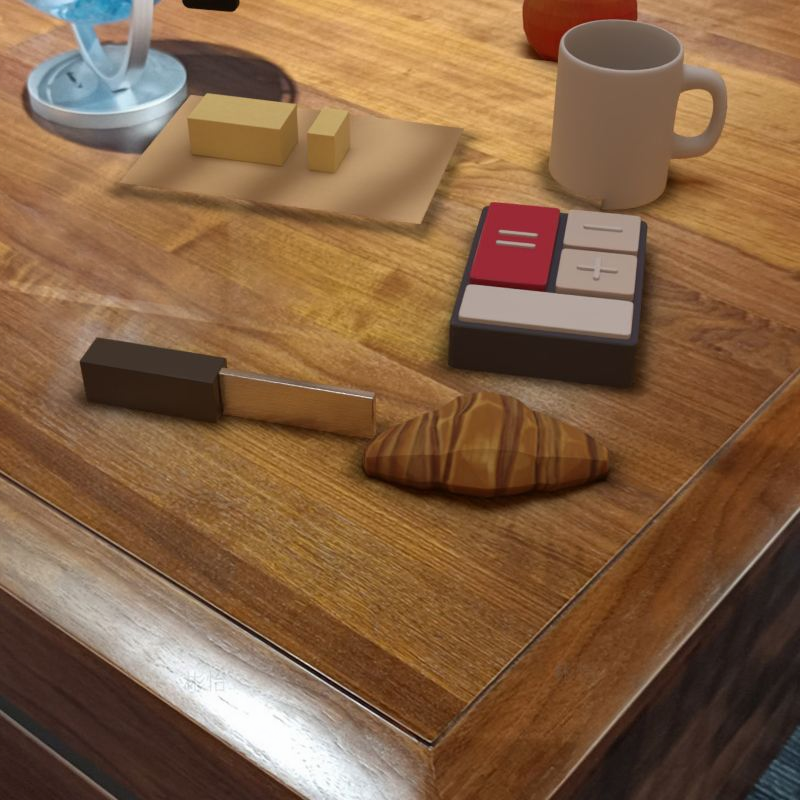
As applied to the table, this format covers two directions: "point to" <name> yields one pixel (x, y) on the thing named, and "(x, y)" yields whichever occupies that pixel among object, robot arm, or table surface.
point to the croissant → (486, 450)
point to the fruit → (567, 20)
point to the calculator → (551, 295)
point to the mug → (625, 111)
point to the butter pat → (328, 140)
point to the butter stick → (243, 129)
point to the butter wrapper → (300, 187)
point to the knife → (217, 390)
